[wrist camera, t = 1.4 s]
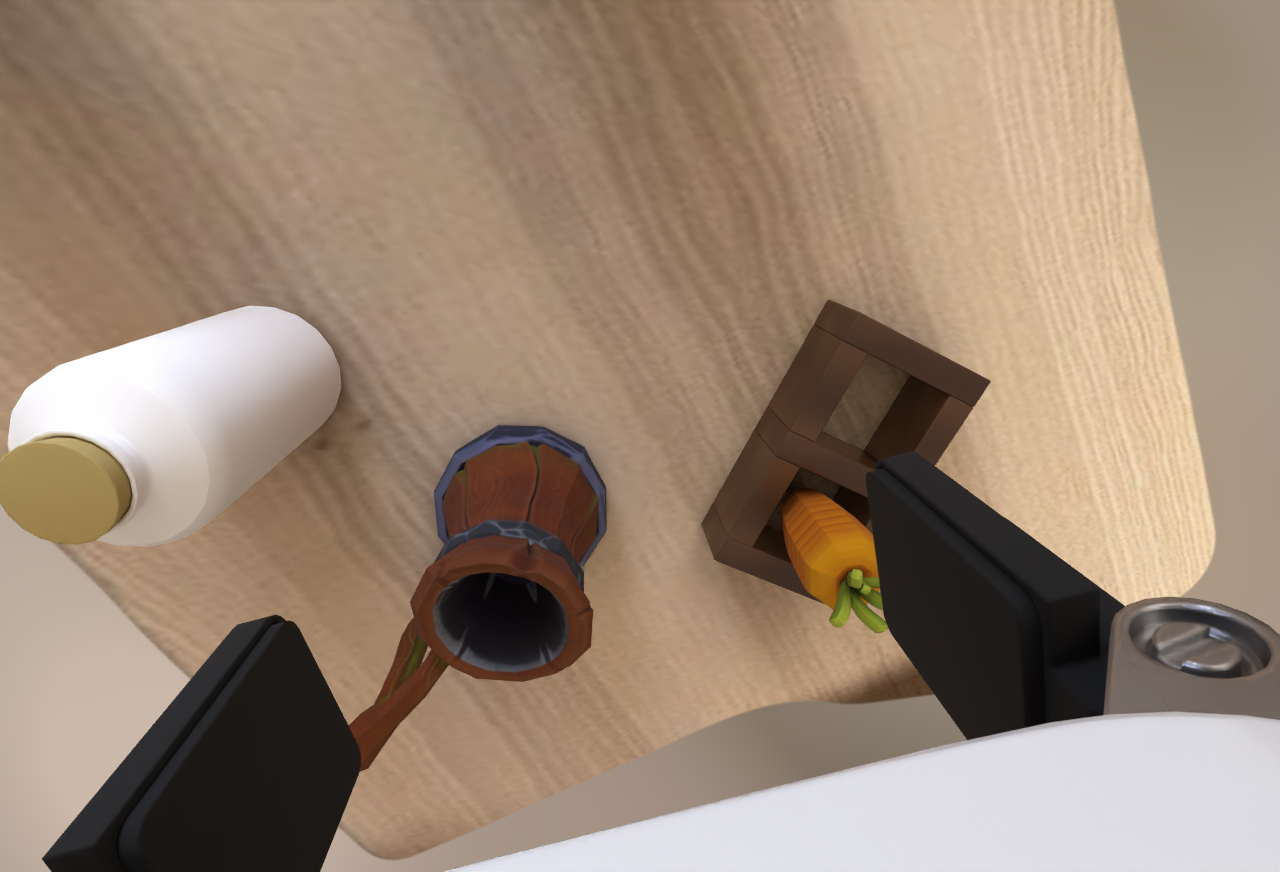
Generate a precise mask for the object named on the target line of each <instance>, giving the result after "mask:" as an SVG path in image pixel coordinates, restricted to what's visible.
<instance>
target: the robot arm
mask: <svg viewBox="0 0 1280 872" xmlns="http://www.w3.org/2000/svg"><path fill="white" fill-rule="evenodd" d="M866 487H867V495H868V502H869V509H870V517H871V524H872V532H873V539H874V546H875V554H876V561H877V569H878V576H879V584H880V591H881V598H882V606H883V612H884V617H885V620H886V623H887V626H888V628H889V630H890V632H891V634H892V635H893V637H894V638H895V640H896V641H897V643H898V644H899V645H900V647H901V648H902V650H903V651H904V652H905V654H906V655H907V657H908V658H909V659H910V661H911V662H912V664H913V665H914V666H915V668H916V669H917V670H918V672H919V673H920V675H921V676H922V677H923V679H924V680H925V682H926V683H927V684H928V686H929V687H930V689H931V690H932V691H933V693H934V694H935V696H936V697H937V698H938V700H939V701H940V703H941V704H942V705H943V707H944V708H945V709H946V711H947V712H948V714H949V715H950V716H951V718H952V719H953V721H954V722H955V723H956V725H957V726H958V727H959V729H960V730H961V732H962V733H963V735H964V736H965V737H966V738H967V740H966V741H962V742H957V743H953V744H947V745H943V746H939V747H934V748H930V749H927V750H922V751H918V752H914V753H910V754H907V755H902V756H898V757H894V758H891V759H886V760H882V761H878V762H874V763H870V764H866V765H862V766H858V767H854V768H850V769H846V770H842V771H838V772H834V773H830V774H826V775H822V776H818V777H814V778H810V779H806V780H802V781H797V782H794V783H789V784H785V785H781V786H777V787H774V788H770V789H765V790H761V791H757V792H753V793H749V794H745V795H741V796H737V797H734V798H729V799H725V800H721V801H717V802H713V803H709V804H705V805H702V806H698V807H694V808H690V809H686V810H682V811H678V812H674V813H670V814H666V815H662V816H658V817H654V818H650V819H647V820H643V821H639V822H635V823H631V824H627V825H623V826H619V827H615V828H611V829H607V830H604V831H600V832H596V833H592V834H588V835H584V836H580V837H576V838H572V839H568V840H564V841H561V842H556V843H553V844H549V845H545V846H541V847H537V848H533V849H529V850H525V851H521V852H517V853H513V854H510V855H505V856H501V857H498V858H494V859H490V860H486V861H482V862H478V863H475V864H471V865H466V866H462V867H458V868H454V869H450V870H446V871H442V872H1280V635H1279V634H1278V633H1277V632H1276V631H1274V630H1273V629H1272V628H1271V627H1270V626H1269V625H1267V624H1265V623H1264V622H1262V621H1259V620H1258V619H1256V618H1254V617H1252V616H1250V615H1249V614H1247V613H1245V612H1242V611H1239V610H1236V609H1233V608H1230V607H1228V606H1225V605H1222V604H1218V603H1213V602H1209V601H1204V600H1199V599H1194V598H1178V597H1161V598H1151V599H1144V600H1141V601H1138V602H1135V603H1132V604H1129V605H1127V606H1124V605H1123V604H1121V603H1120V602H1119V601H1117V600H1116V599H1115V598H1113V597H1112V596H1111V595H1109V594H1108V593H1107V592H1105V591H1104V590H1102V589H1101V588H1100V587H1098V586H1097V585H1096V584H1094V583H1093V582H1092V581H1090V580H1089V579H1088V578H1086V577H1085V576H1084V575H1082V574H1081V573H1080V572H1078V571H1077V570H1075V569H1074V568H1073V567H1071V566H1070V565H1069V564H1067V563H1066V562H1065V561H1063V560H1062V559H1061V558H1059V557H1058V556H1057V555H1055V554H1054V553H1052V552H1051V551H1050V550H1048V549H1047V548H1046V547H1044V546H1043V545H1042V544H1040V543H1039V542H1038V541H1036V540H1035V539H1034V538H1032V537H1031V536H1030V535H1028V534H1027V533H1025V532H1024V531H1023V530H1021V529H1020V528H1019V527H1017V526H1016V525H1015V524H1013V523H1012V522H1011V521H1009V520H1008V519H1006V518H1004V517H1003V516H1001V515H1000V514H999V513H997V512H996V511H994V510H993V509H992V508H990V507H989V506H988V505H986V504H985V503H984V502H982V501H981V500H980V499H978V498H977V497H976V496H974V495H973V494H972V493H970V492H969V491H968V490H966V489H965V488H964V487H962V486H961V485H959V484H958V483H957V482H955V481H954V480H953V479H951V478H950V477H949V476H947V475H946V474H945V473H943V472H942V471H941V470H939V469H938V468H937V467H935V466H934V465H933V464H931V463H930V462H928V461H927V460H926V459H924V458H923V457H922V456H920V455H919V454H918V453H916V452H914V451H911V452H907V453H904V454H900V455H896V456H892V457H888V458H884V459H880V460H877V462H876V463H875V470H873V471H870V472H867V474H866ZM360 768H361V752H360V748H359V746H358V744H357V742H356V740H355V738H354V736H353V734H352V732H351V730H350V728H349V726H348V724H347V722H346V720H345V718H344V716H343V714H342V712H341V710H340V708H339V706H338V704H337V702H336V700H335V698H334V696H333V694H332V692H331V690H330V688H329V686H328V685H327V683H326V681H325V679H324V677H323V675H322V673H321V671H320V669H319V667H318V665H317V663H316V661H315V659H314V657H313V655H312V653H311V651H310V649H309V647H308V645H307V643H306V641H305V639H304V637H303V635H302V633H301V631H300V629H299V628H298V626H297V625H296V624H295V623H294V622H292V621H286V620H285V619H284V618H282V617H281V616H278V615H273V616H269V617H265V618H261V619H257V620H254V621H250V622H246V623H242V624H238V625H237V626H236V627H234V628H233V629H232V631H231V632H230V633H229V634H228V635H227V637H226V638H225V639H224V640H223V641H222V643H221V644H220V645H219V646H218V647H217V649H216V650H215V651H214V652H213V653H212V655H211V656H210V657H209V658H208V659H207V661H206V662H205V663H204V664H203V665H202V667H201V668H200V669H199V670H198V671H197V673H196V674H195V675H194V676H193V677H192V679H191V680H190V681H189V682H188V684H187V685H186V686H185V687H184V688H183V690H182V691H181V692H180V693H179V694H178V696H177V697H176V698H175V699H174V700H173V702H172V703H171V704H170V705H169V706H168V708H167V709H166V710H165V711H164V712H163V714H162V715H161V716H160V717H159V718H158V720H157V721H156V722H155V723H154V724H153V726H152V727H151V728H150V729H149V730H148V732H147V733H146V734H145V735H144V736H143V738H142V739H141V740H140V741H139V742H138V744H137V745H136V746H135V747H134V749H133V750H132V751H131V752H130V753H129V755H128V756H127V757H126V758H125V760H124V761H123V762H122V763H121V764H120V765H119V767H118V768H117V769H116V770H115V771H114V773H113V774H112V775H111V776H110V777H109V779H108V780H107V781H106V782H105V783H104V785H103V786H102V787H101V788H100V789H99V791H98V792H97V793H96V795H95V796H94V797H93V798H92V799H91V800H90V801H89V803H88V804H87V805H86V806H85V808H84V809H83V810H82V811H81V812H80V814H79V815H78V816H77V817H76V818H75V820H74V821H73V822H72V823H71V824H70V826H69V827H68V828H67V829H66V830H65V832H64V833H63V834H62V835H61V836H60V838H59V839H58V840H57V841H56V842H55V844H54V845H53V846H52V847H51V848H50V850H49V851H48V852H47V853H46V855H45V856H44V857H43V858H42V860H43V861H44V862H45V864H46V865H47V866H48V868H49V869H50V870H51V871H52V872H320V870H321V868H322V866H323V863H324V860H325V858H326V855H327V853H328V850H329V848H330V845H331V843H332V840H333V838H334V835H335V832H336V830H337V828H338V825H339V823H340V820H341V818H342V815H343V813H344V810H345V808H346V805H347V803H348V800H349V797H350V795H351V792H352V790H353V787H354V785H355V782H356V780H357V777H358V775H359V772H360Z"/></svg>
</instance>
